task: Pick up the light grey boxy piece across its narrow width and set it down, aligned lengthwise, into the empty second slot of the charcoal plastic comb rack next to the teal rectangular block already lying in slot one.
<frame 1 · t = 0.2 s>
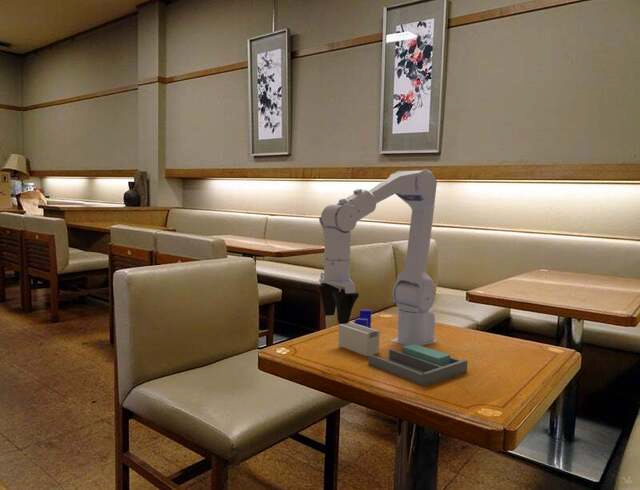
hand: (336, 319, 108), 10 cm above the table, fingers open, 7 cm apart
light grey boxy piece: (358, 351, 116), on the table
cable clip: (360, 336, 130), on the table
teal rectangular block: (425, 363, 107), point 1 cm above the table, touching comb rack
comb rack: (415, 369, 105), on the table
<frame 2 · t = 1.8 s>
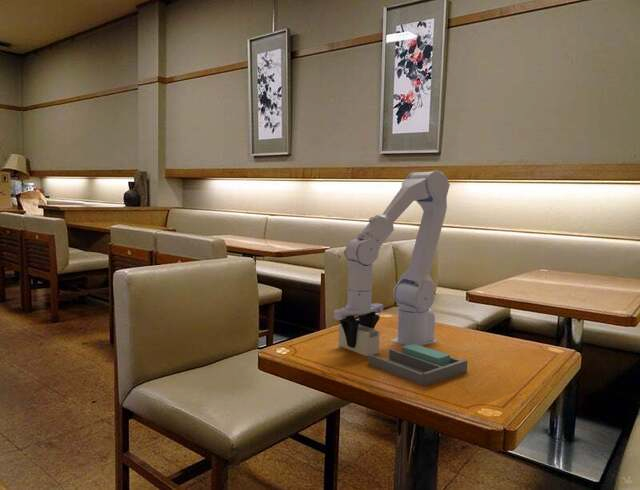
hand: (358, 344, 116), 2 cm above the table, fingers closed on light grey boxy piece, 4 cm apart
light grey boxy piece: (358, 351, 116), on the table, touching gripper
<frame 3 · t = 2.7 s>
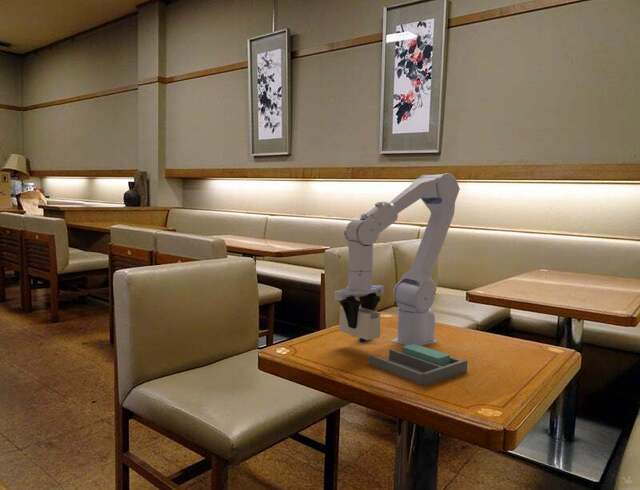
hand: (359, 326, 116), 6 cm above the table, fingers closed on light grey boxy piece, 4 cm apart
light grey boxy piece: (359, 334, 116), point 4 cm above the table, touching gripper
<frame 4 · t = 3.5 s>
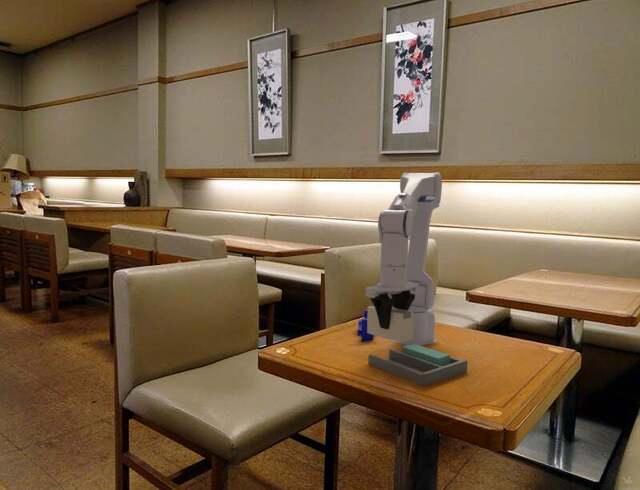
hand: (391, 326, 105), 9 cm above the table, fingers closed on light grey boxy piece, 4 cm apart
light grey boxy piece: (389, 336, 106), point 7 cm above the table, touching gripper
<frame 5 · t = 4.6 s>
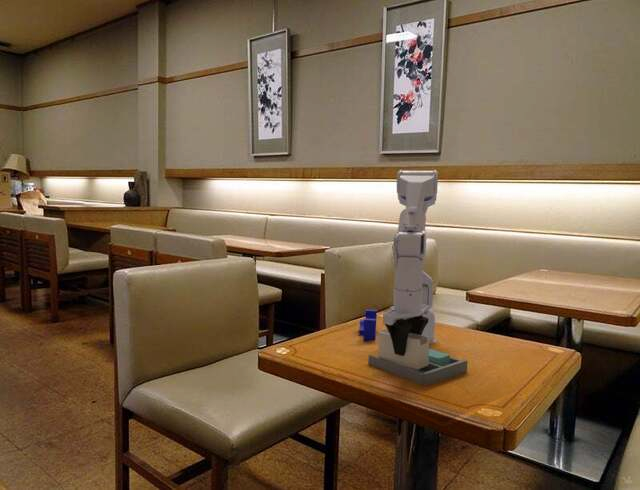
hand: (405, 352, 102), 5 cm above the table, fingers closed on light grey boxy piece, 4 cm apart
light grey boxy piece: (403, 362, 103), point 2 cm above the table, touching gripper
when the fingers open (3 cm above the table, at t = 5.3 s): light grey boxy piece stays where it is, resting on comb rack.
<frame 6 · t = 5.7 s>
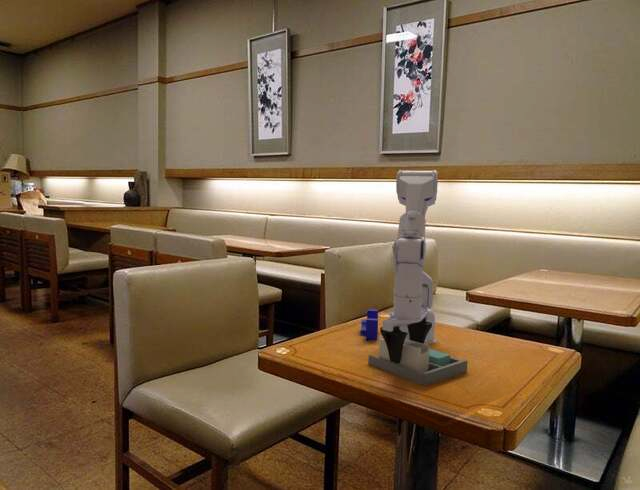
hand: (405, 358, 102), 3 cm above the table, fingers open, 7 cm apart
light grey boxy piece: (402, 369, 103), point 1 cm above the table, touching comb rack
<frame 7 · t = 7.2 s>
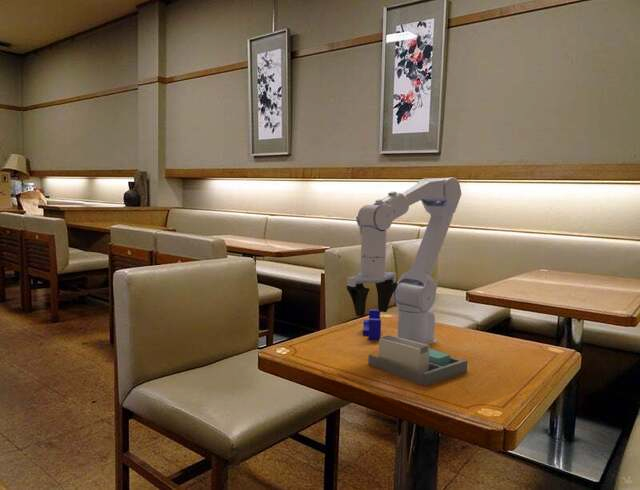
hand: (371, 313, 113), 10 cm above the table, fingers open, 7 cm apart
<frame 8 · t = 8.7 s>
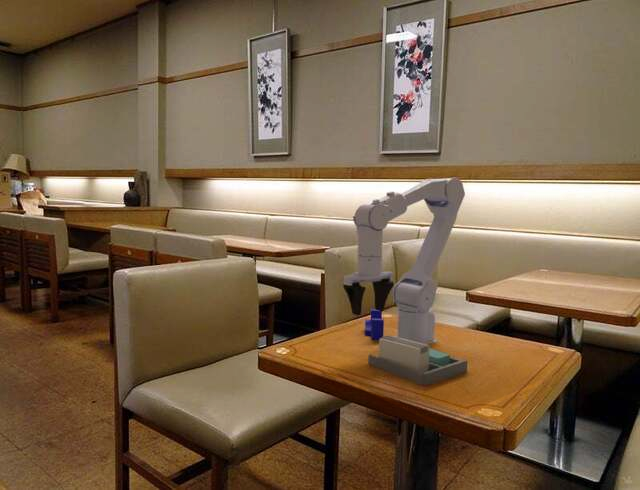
hand: (368, 312, 115), 10 cm above the table, fingers open, 7 cm apart
at the end: light grey boxy piece inside the target area on the comb rack (0.6 cm from its centre), point 0.6 cm above the comb rack's base; light grey boxy piece tilted 0°; teal rectangular block moved 0.0 cm from its start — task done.
